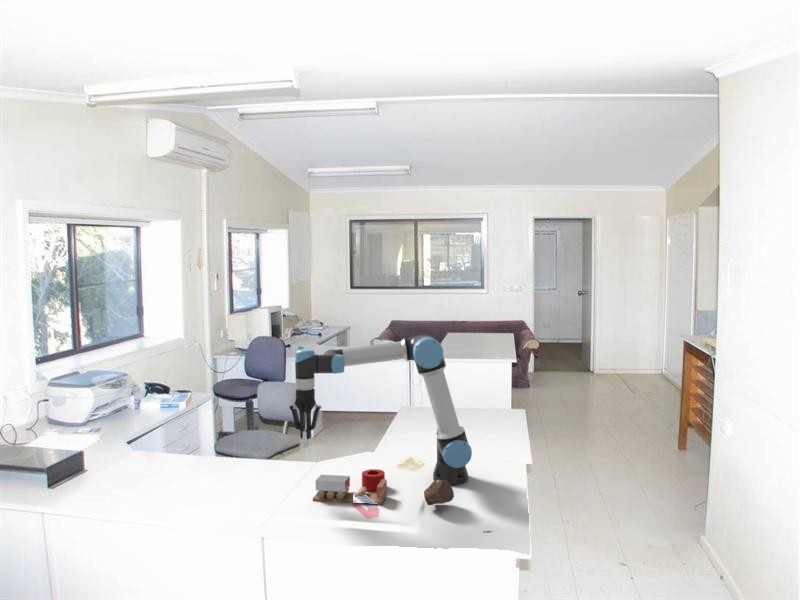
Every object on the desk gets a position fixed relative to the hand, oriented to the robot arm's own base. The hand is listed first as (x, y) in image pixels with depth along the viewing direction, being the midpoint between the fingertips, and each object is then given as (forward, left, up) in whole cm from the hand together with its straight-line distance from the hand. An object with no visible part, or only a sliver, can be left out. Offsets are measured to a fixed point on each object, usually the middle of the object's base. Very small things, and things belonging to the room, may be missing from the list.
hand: (305, 446), depth 247 cm
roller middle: (-11, 0, -19) cm, 22 cm away
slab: (-11, 0, -16) cm, 20 cm away
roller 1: (-7, 0, -19) cm, 20 cm away
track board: (-18, 0, -20) cm, 27 cm away
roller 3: (-24, 0, -19) cm, 30 cm away
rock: (-53, +1, -20) cm, 57 cm away
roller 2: (-15, 0, -19) cm, 24 cm away
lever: (-23, -17, -21) cm, 35 cm away
